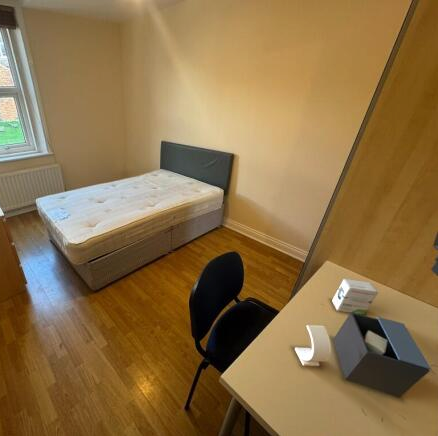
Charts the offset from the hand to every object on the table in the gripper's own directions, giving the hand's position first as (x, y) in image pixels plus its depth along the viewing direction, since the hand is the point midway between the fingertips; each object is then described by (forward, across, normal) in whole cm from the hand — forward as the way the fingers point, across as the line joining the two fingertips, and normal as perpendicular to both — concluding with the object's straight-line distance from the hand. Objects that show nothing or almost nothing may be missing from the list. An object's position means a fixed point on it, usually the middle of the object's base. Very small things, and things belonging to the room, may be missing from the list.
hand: (437, 272), depth 63 cm
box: (+27, -13, -15) cm, 33 cm away
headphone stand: (+27, -27, -19) cm, 43 cm away
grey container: (+27, -12, -15) cm, 33 cm away
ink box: (+28, -9, +8) cm, 30 cm away
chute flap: (+13, -9, -15) cm, 22 cm away
